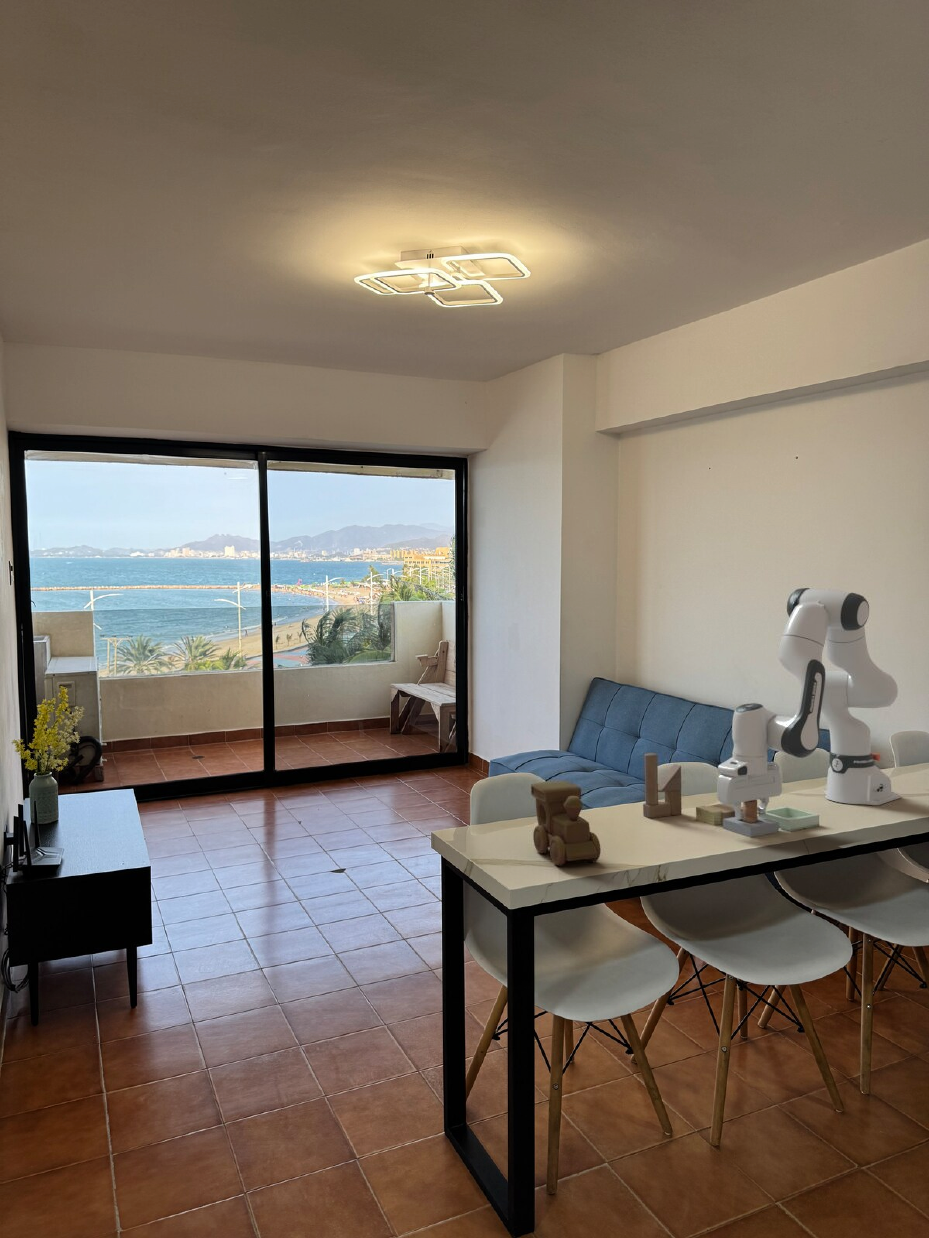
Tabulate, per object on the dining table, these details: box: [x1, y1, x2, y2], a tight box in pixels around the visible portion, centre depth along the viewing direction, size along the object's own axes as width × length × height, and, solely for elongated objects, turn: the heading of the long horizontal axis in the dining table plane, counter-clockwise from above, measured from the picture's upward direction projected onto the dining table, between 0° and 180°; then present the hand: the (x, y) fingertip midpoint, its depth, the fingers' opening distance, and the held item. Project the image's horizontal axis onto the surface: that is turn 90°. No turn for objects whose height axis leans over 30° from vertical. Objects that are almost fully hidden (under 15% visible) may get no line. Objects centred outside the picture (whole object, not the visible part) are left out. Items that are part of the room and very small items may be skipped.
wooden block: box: [642, 752, 682, 819], centre depth 245 cm, size 4×11×18 cm, turn 109°
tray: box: [757, 805, 820, 832], centre depth 233 cm, size 11×11×3 cm
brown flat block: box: [707, 803, 743, 825], centre depth 240 cm, size 9×8×4 cm
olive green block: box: [695, 805, 723, 826], centre depth 237 cm, size 3×7×4 cm, turn 27°
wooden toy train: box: [530, 780, 601, 867], centre depth 209 cm, size 20×11×17 cm, turn 17°
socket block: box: [722, 815, 779, 838], centre depth 228 cm, size 10×10×2 cm
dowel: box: [742, 800, 758, 824], centre depth 228 cm, size 4×4×8 cm
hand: (750, 816), depth 228 cm, fingers open, 6 cm apart
